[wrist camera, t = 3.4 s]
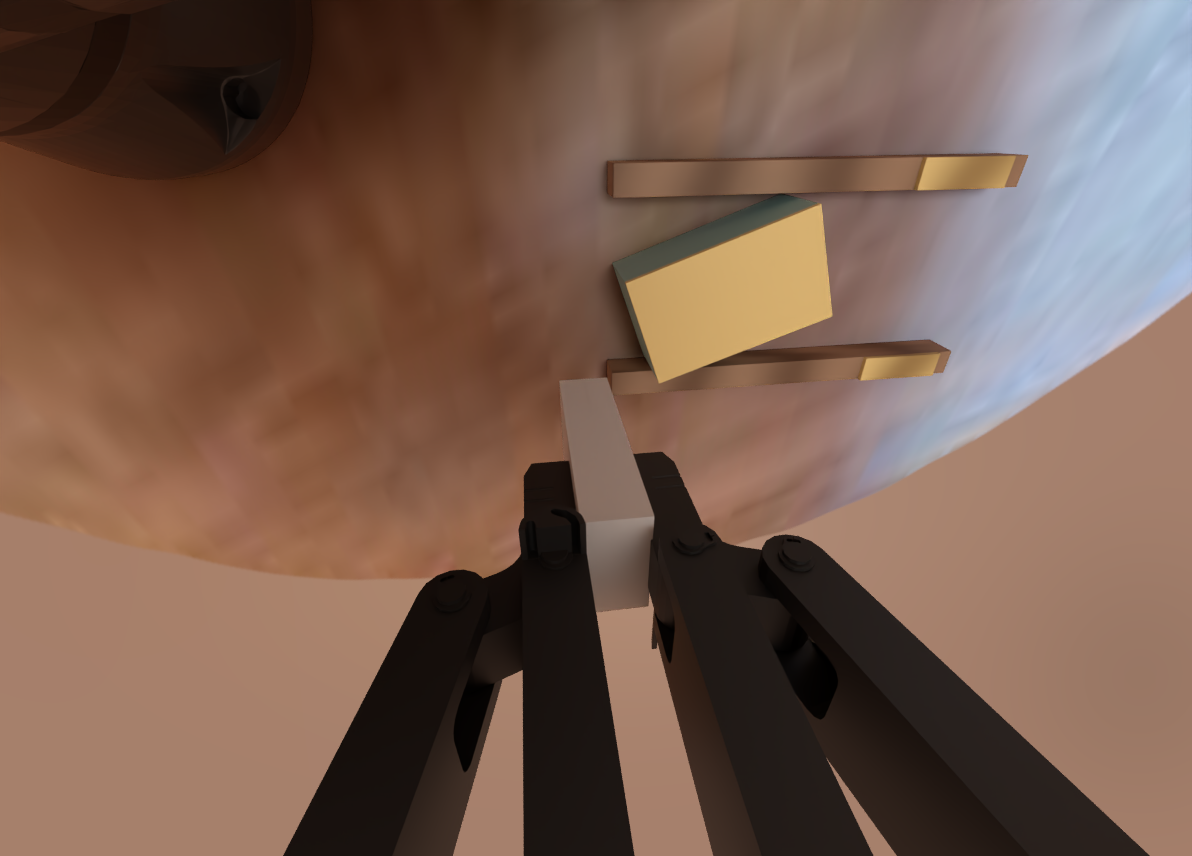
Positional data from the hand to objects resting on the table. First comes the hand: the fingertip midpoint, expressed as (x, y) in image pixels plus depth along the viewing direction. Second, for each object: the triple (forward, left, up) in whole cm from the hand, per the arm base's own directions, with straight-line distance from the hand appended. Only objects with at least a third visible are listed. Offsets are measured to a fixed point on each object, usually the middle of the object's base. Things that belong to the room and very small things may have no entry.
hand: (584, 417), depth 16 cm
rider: (+9, 0, -15) cm, 17 cm away
